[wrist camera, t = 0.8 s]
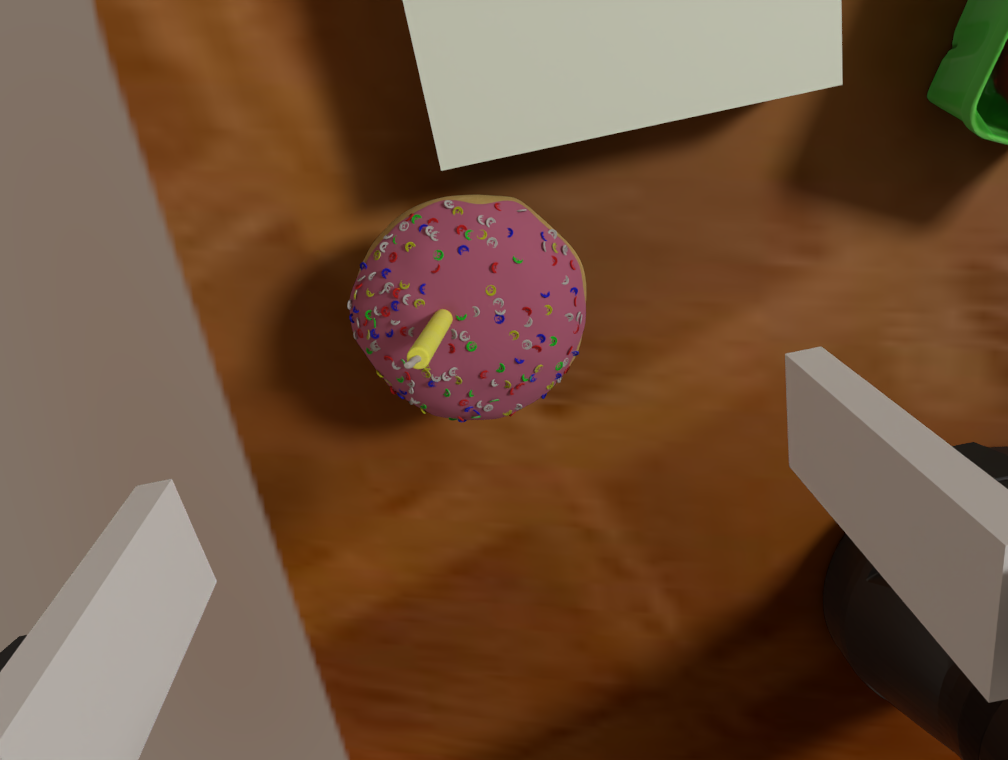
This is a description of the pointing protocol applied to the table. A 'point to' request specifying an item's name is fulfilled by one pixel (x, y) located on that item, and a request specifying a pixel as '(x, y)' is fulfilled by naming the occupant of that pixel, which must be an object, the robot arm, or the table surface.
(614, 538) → the table surface
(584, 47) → the sage stand
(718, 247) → the table surface
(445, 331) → the cupcake
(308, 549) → the table surface
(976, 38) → the fruit basket
